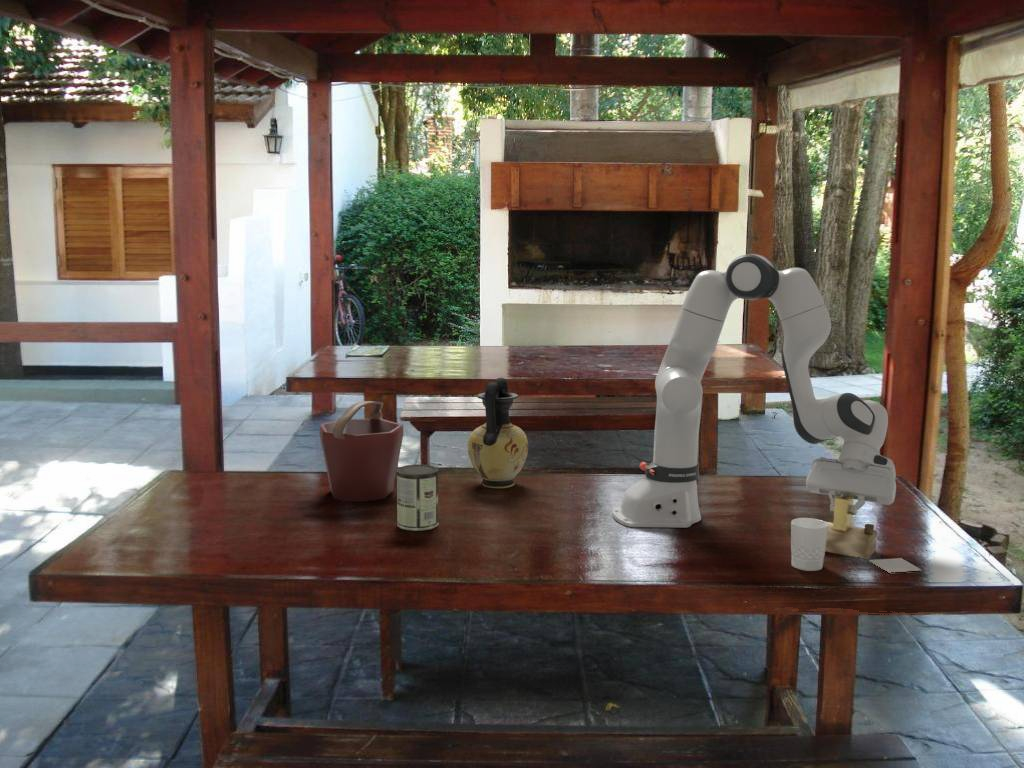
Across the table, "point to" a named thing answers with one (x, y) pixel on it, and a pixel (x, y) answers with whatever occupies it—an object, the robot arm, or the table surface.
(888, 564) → the mat
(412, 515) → the coffee can
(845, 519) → the brass knob block
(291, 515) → the table surface
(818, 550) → the white cup
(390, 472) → the bucket
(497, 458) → the amphora
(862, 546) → the body
